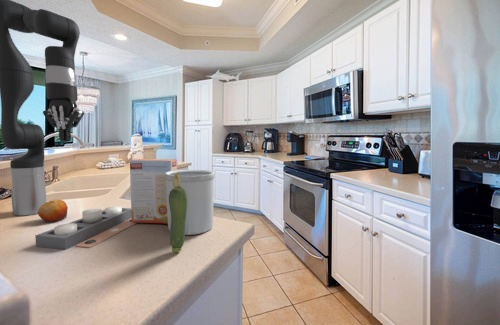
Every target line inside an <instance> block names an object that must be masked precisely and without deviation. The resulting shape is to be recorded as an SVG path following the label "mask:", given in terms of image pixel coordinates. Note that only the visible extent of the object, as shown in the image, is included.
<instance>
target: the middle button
mask: <svg viewBox="0 0 500 325" xmlns="http://www.w3.org/2000/svg"><path fill="white" fill-rule="evenodd" d="M102 211H103V209H101V208H90V209H86V210H83V211H82V212H81V213H82V218H83V223H88V224H89V223H96V222H99V221H101V220H102Z"/></svg>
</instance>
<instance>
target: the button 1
mask: <svg viewBox="0 0 500 325" xmlns="http://www.w3.org/2000/svg"><path fill="white" fill-rule="evenodd" d="M53 229H54V234H55V235H64V236H66V235H68V234H70V233H73V232H75V231H77V224H75V223H71V222H69V223H63V224H60V225H57V226H55V227H54V228H53Z"/></svg>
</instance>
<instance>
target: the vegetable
mask: <svg viewBox="0 0 500 325" xmlns="http://www.w3.org/2000/svg"><path fill="white" fill-rule="evenodd" d="M172 185H173V186H174V188H173V189H172V190H171V191H170V193H169V205H170V212H171V229H170V231H169V238H170V239H169V240H170V242H169V243H170V246H171V251H172V253H173V254H174V253H179V252H182V248H183V246H184V243H185V236H186V235H185V223H186V213H187V194H186V191H185V190H184V189H183V188H182V187H180V186H181V182H180V178H179V175H178V172H177V173H175V176H174V178H173V181H172Z"/></svg>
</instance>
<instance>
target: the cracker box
mask: <svg viewBox="0 0 500 325" xmlns="http://www.w3.org/2000/svg"><path fill="white" fill-rule="evenodd" d="M177 170H178V159H177V158H176V159H175V158H173V159H171V158H170V159H167V158H165V159H164V158H163V159H162V158H134V159H130V160H129V171H130V172H129V175H130V178H129V180H130V182H129V183H130V208H131V216H132V222H138V223H139V224H140V223H144V224H146V223H147V224H165V225H168V217H167V185H166V177H165V173H166V172H170V171H177Z"/></svg>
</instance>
